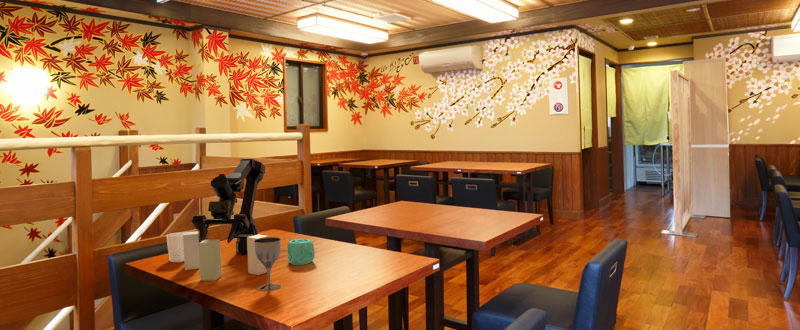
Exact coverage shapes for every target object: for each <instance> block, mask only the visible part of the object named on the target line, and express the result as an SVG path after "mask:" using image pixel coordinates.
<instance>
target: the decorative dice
mask: <svg viewBox="0 0 800 330" xmlns="http://www.w3.org/2000/svg"><path fill="white" fill-rule="evenodd" d="M286 247H287V249H286V253H287V259H288V262H289V264H291V265H292V266H304V264H305V265H308V263H309V264H311V263H312V262H313V261H314V259H315V256H316V255H315V247H314V243H313V240H311V239H309V238H297V239H296V238H295V239H292V240H290V241H289V242H288V243H287V246H286Z"/></svg>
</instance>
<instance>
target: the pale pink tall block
mask: <svg viewBox="0 0 800 330" xmlns="http://www.w3.org/2000/svg"><path fill="white" fill-rule="evenodd" d="M182 232H183V244H184V261H183V262H184V270H185V271H189V270H196V269H197V270H198V269H200V261H199V243H200V242H199V240H200V236H199V230H196V231H187V232H186V231H182Z"/></svg>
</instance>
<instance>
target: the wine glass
mask: <svg viewBox="0 0 800 330" xmlns="http://www.w3.org/2000/svg"><path fill="white" fill-rule="evenodd" d="M281 239H282V238H281V237H277V236H268V237H264V238H259V239H256V240H254V247H255V253H256V256H257V259H258V260H259V261H260V262H261V263H262V264H263V265H264V266H265V268H266V270H267V272H266V275H267V283H263V284H261V285H259V286H257V290H258V291H263V292H269V291H275V290H278V289H280V288H282V285H281V284H279V283H273V282H272V281H271V271H272V268H273V266H274V264H275V263H276V261H277V260H278V259H279V257H280V255H281V250H282V249H281V248H282V247H281V246H282V240H281Z"/></svg>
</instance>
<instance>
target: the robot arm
mask: <svg viewBox="0 0 800 330" xmlns="http://www.w3.org/2000/svg"><path fill="white" fill-rule="evenodd" d="M264 174H266V166H265V165H264V163H262V162H260V161H258V160H256V159H254V158H252V157H250V158H249V157H248V158H247V157H246V158H245V157H243V158H241V159H240V161H239V164H238V165H237V166H236V168H235V169H234V170H233V172H232V173H230V174H227V175H226V174H225V173H219V174H218V176H215V177H214V178H213V179H211V181H210V186H211V188H212V190H213V192H214V194H215V196H216V197H217V198H218V201H217V200H214V201H213V200H212V201H208V208H207V211H208V212H210V216H211V217H212V218H207V216H206V215H205V214H194V215H192V218H191V220H190V221H191V222H192V224H193V226H194V227H195V229H196V231H198V233H199V240H200V242H201V241H203V240H206V237H207V234H208V233H209V230H208V229H209V228H210V225H211V226H213V225H219V226H231V227H230V231H229V232H228V236H227V241H226V242H227V244H230V243H231V242H232V241H233V240H234V239H236V241H235V253H237V254H239V255H243V256H244V255H248V252H247V237H250V236H254V235H258V234H259V229H258V228H257V224H256V220H255V219H254V217H253V214H254V213H253V212H254V208H255V207H254V206H255V201H256V195H257V190H258V184H259V183H260V182H262V180H263V179H264V176H265V175H264ZM244 181H245V182H244ZM243 189H244V190H243ZM242 191H243V196H242V201H241V206H240V211H239V213H235V211H234V208H235V204H236V203H238V199H237V198H238V196H237V193H241V192H242ZM232 216H233V218H232ZM200 242H199V243H200Z"/></svg>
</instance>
